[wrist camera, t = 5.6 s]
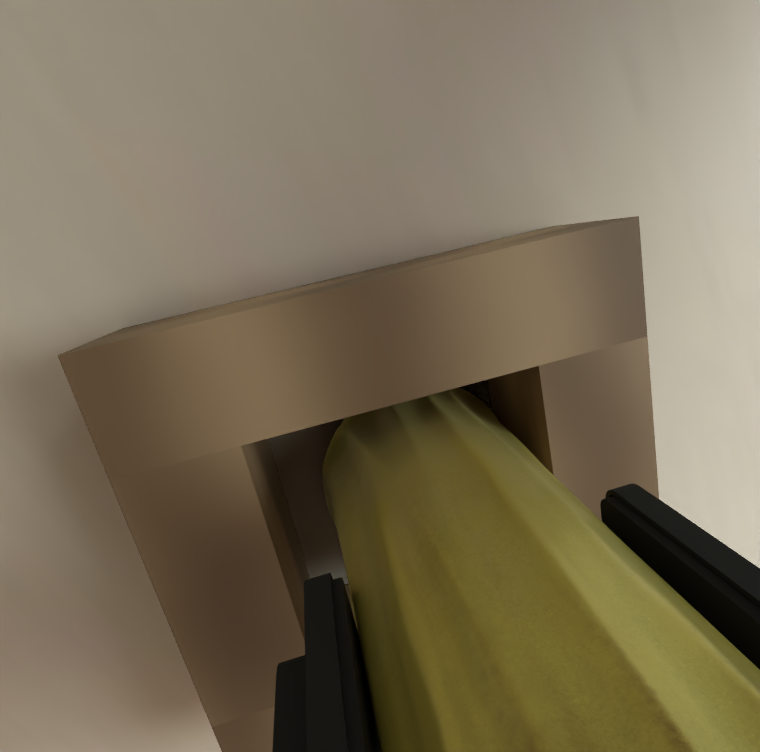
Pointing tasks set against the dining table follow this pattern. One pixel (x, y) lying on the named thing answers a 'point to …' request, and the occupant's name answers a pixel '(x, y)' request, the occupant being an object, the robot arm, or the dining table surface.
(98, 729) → the dining table surface
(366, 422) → the vase
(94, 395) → the collar
